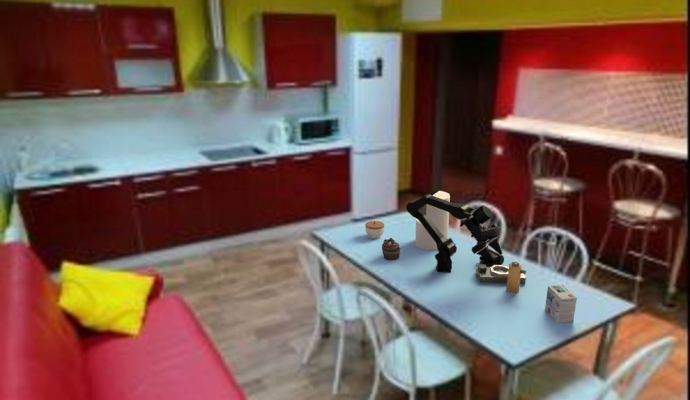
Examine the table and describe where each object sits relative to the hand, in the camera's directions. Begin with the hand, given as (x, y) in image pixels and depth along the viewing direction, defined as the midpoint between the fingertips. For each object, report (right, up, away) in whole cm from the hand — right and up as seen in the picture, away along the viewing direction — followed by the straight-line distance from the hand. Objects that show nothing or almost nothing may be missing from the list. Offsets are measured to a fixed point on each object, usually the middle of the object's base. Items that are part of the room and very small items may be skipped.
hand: (497, 257), depth 211 cm
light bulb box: (+18, -21, -20) cm, 34 cm away
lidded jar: (-51, +4, +60) cm, 79 cm away
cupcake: (-44, -4, +34) cm, 56 cm away
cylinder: (-21, +1, +49) cm, 53 cm away
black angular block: (+5, -6, +25) cm, 26 cm away
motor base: (+4, -11, +10) cm, 15 cm away
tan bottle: (+6, -14, 0) cm, 16 cm away
